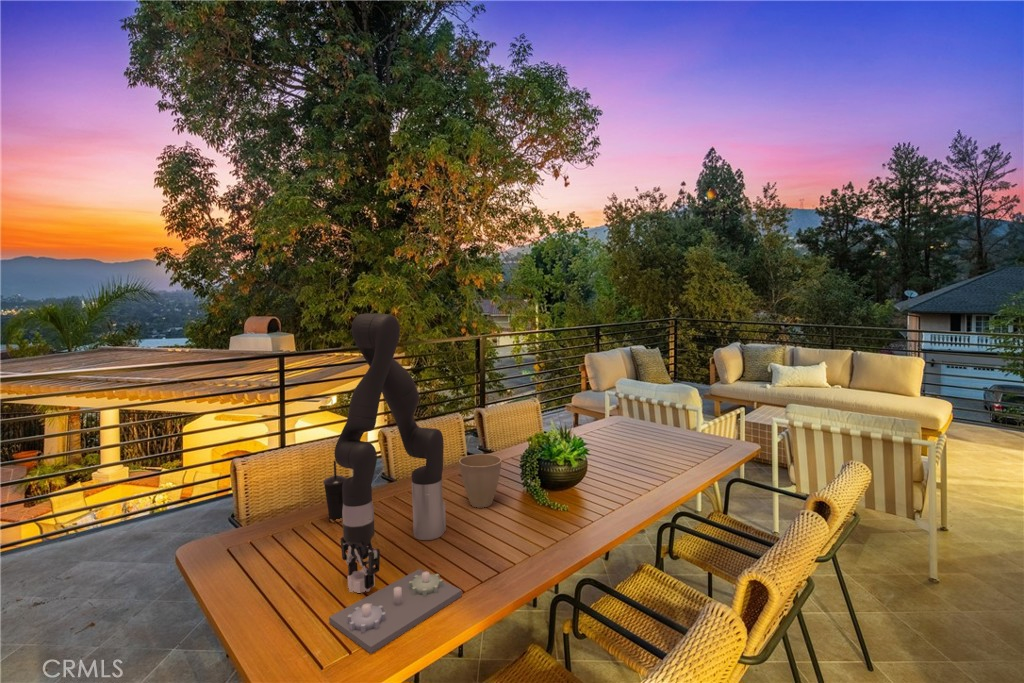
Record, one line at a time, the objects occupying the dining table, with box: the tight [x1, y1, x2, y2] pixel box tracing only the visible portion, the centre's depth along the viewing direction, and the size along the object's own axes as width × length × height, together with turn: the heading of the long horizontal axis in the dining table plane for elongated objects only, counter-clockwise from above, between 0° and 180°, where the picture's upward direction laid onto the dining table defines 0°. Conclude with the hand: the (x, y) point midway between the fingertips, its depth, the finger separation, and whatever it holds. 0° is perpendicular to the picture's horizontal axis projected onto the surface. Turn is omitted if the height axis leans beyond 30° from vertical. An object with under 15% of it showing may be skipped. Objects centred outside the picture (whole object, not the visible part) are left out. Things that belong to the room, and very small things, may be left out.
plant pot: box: [458, 453, 503, 509], centre depth 179 cm, size 15×15×16 cm
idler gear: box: [347, 568, 376, 594], centre depth 128 cm, size 6×6×3 cm
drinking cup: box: [322, 460, 348, 520], centre depth 168 cm, size 8×8×20 cm
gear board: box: [328, 568, 463, 655], centre depth 119 cm, size 26×16×5 cm, turn 140°
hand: (361, 582), depth 128 cm, fingers closed on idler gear, 6 cm apart
